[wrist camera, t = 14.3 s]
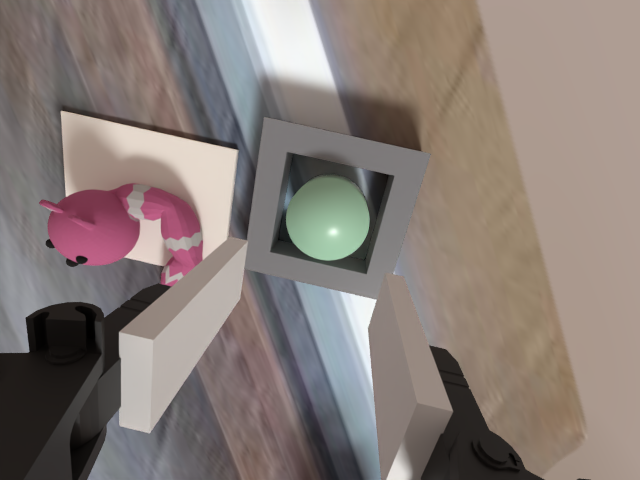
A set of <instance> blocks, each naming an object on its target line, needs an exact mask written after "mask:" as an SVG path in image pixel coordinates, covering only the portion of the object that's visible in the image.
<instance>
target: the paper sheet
mask: <svg viewBox="0 0 640 480" xmlns="http://www.w3.org/2000/svg"><path fill="white" fill-rule="evenodd" d="M61 122H62V139H63V156H64V172H65V189H66V197H67V196H69V195H71V194H73V193H76V192H79V191H83V190H91V189H96V190H104V191H109V190H113V189H116V188H119V187H120V186H122V185H125V184H130V183H137V184H143V185H147V186H151V187H155V188H159V189H162V190H164V191H166V192H168V193H170V194H173V195H175V196H177V197H179V198H180V199H182V200H183V201H185V202H187V203H188V205H189V206H190V207H191V208H192V210H193V211H194V213H195V215H196V217H197V219H198V222H199V224H200V227H201V232H202V238H203V252H202V257H203V260H204V259H205V258H206V257H207V256H208V255H209V254H211V253H212V252H213V251H214V250H215V249H216V248H218V247H219V246H220V245H221V244H222V243H223V242H225V241H226V240H227V239H228V236H229V228H230V219H231V211H232V203H233V194H234V186H235V177H236V169H237V160H238V152H239V150H236V149H232V148H227V147H223V146H218V145H214V144H209V143H205V142H200V141H196V140H191V139H187V138H182V137H178V136H174V135H169V134H165V133H160V132H156V131H151V130H147V129H142V128H138V127H133V126H129V125H124V124H120V123H116V122H111V121H107V120H102V119H98V118H93V117H89V116H84V115H80V114H75V113H71V112H66V111H61ZM139 220H140V235H139V238H138V241H137V243H136V245H135V246H134V248H133V249H132V250H131V251H130V252H129V253H128V254H127V255H126V256H125V257H126V258H130V259H134V260H138V261H143V262H147V263H151V264H156V265H160V266H164V267H165V265H166V264H167V262H168V261H169V260H170V258H171V257H172V256H173V255H172V253H171V252H170V251H169V250H168V249H167V247H166V244H165V242H164V240H163V238H162V235H161V218H160V219H157V220H154V221H150V220H142V219H139Z"/></svg>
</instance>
